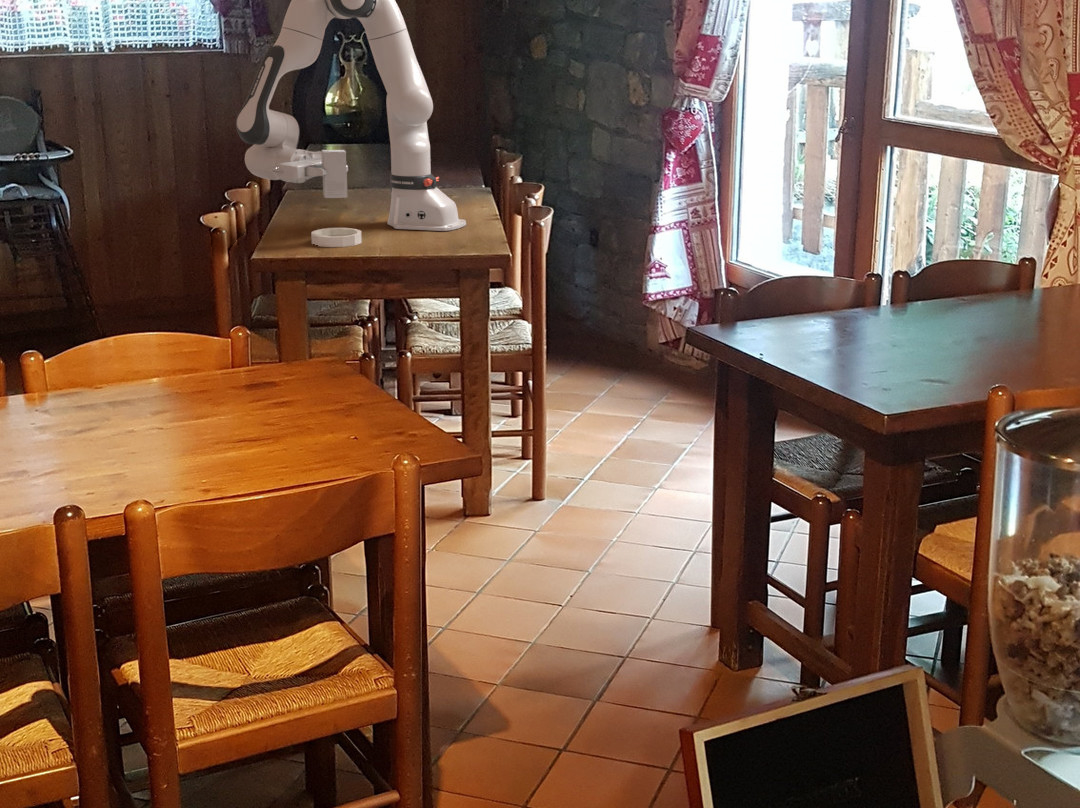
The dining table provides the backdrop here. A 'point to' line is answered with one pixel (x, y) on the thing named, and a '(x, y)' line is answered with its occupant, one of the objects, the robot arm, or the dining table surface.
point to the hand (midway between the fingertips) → (335, 170)
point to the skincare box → (334, 173)
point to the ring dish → (336, 237)
